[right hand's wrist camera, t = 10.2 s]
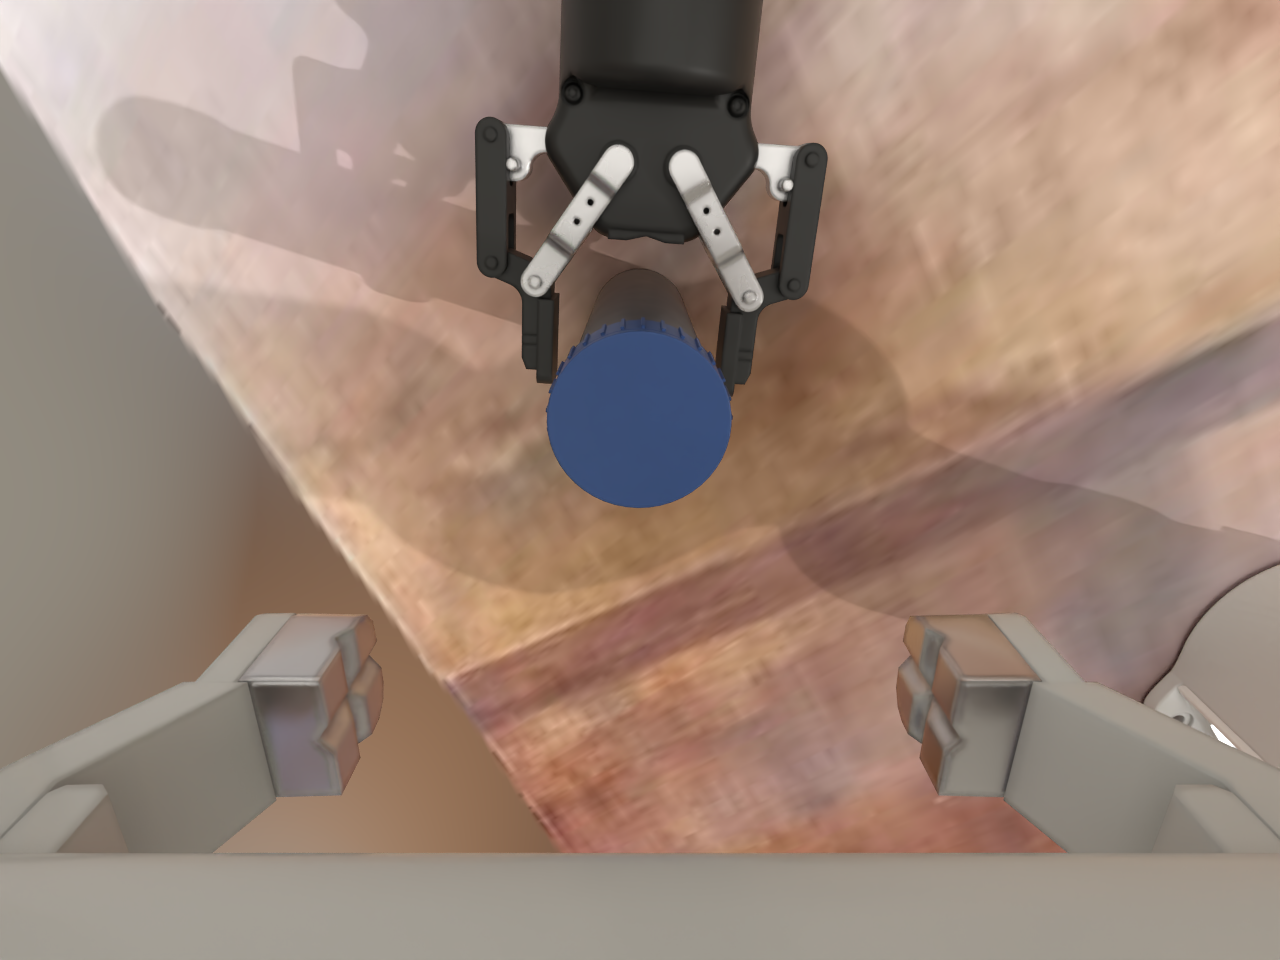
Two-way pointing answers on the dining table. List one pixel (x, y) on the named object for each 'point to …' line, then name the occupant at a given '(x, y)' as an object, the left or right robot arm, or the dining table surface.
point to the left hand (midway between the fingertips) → (635, 385)
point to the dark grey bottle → (639, 302)
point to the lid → (639, 414)
